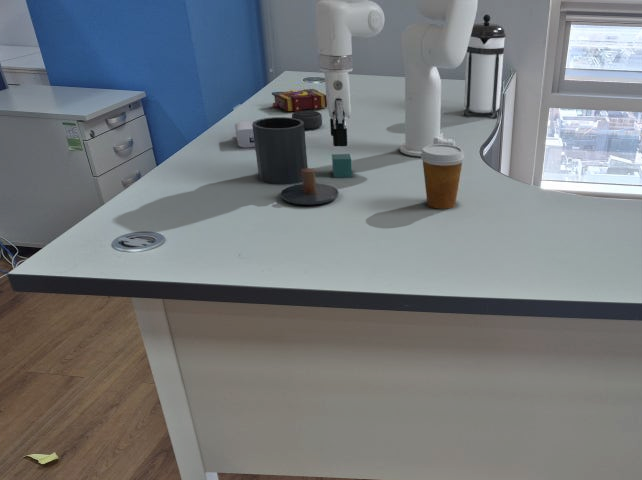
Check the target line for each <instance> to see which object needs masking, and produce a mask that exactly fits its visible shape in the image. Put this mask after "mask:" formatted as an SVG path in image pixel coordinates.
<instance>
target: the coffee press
mask: <svg viewBox="0 0 642 480" xmlns="http://www.w3.org/2000/svg"><path fill="white" fill-rule="evenodd" d="M482 18H483V21H484V22H476V23H474V24H473V28H472V32H471V36H470V40H469V44H468V48H467V51H466V54H465V72H464V73H465V75H464V78H465V79H464V97H463V98H464V103H463V104H464V105H463V106H464V111H463V116H464V117H467V118H468V117H469V116H470V115H471V114H472V113H477V114H478V113H479V114H489V115H490V117H491V118H492V119H497V118H498V113H499V111H500V105H501V93H502V78H503V67H504V65H503V64H504V53H505V49H506V48H505V39H506V37H507V33H506V32H505V29H504V27H503V26H502V25H500V24H498V23H491V15H489V14H485V15H484V16H483V17H482Z"/></svg>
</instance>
